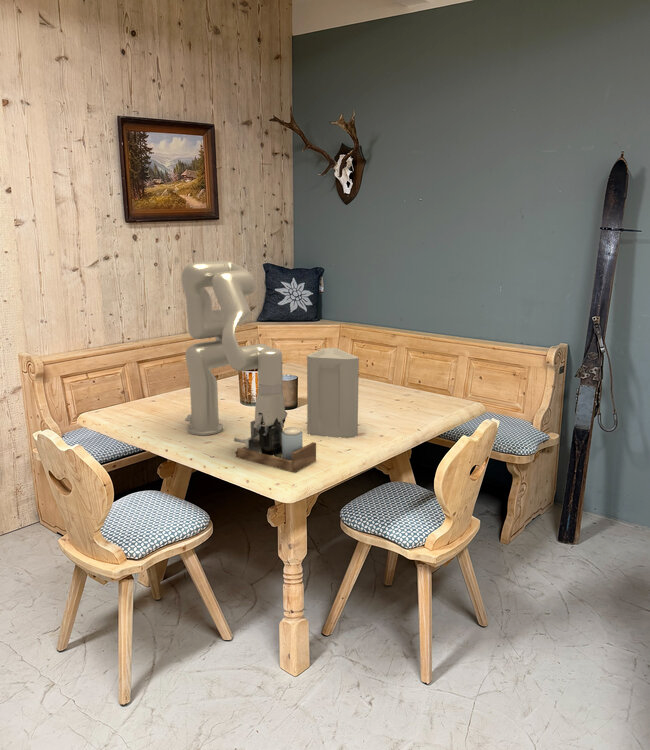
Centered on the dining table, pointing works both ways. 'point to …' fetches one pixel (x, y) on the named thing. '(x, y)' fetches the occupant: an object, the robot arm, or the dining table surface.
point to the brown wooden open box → (298, 462)
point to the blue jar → (291, 441)
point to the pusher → (251, 440)
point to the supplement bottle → (273, 439)
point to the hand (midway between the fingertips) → (271, 442)
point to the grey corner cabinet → (332, 393)
